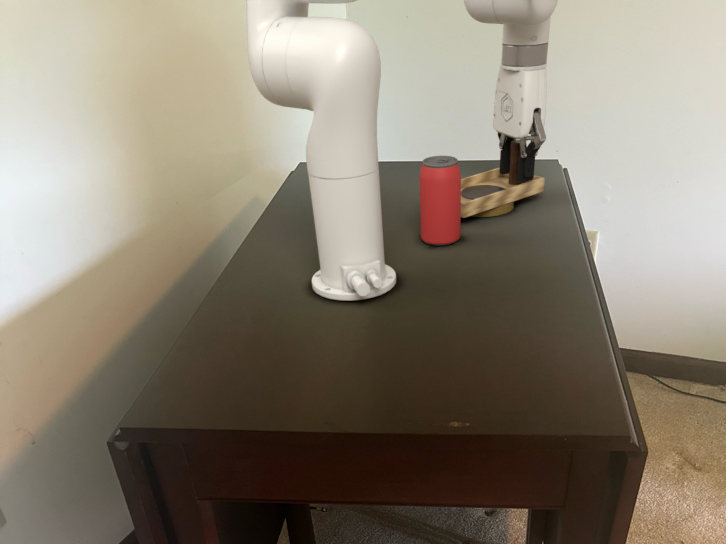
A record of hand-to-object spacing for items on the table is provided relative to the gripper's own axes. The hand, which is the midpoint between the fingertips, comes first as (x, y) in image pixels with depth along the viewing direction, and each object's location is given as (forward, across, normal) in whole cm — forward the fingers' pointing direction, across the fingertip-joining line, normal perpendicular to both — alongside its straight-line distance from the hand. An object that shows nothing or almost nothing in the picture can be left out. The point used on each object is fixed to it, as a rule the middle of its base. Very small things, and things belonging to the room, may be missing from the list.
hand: (516, 175), depth 123 cm
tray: (+2, +1, -7) cm, 8 cm away
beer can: (+4, +11, -22) cm, 25 cm away
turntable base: (+4, +1, -7) cm, 8 cm away
